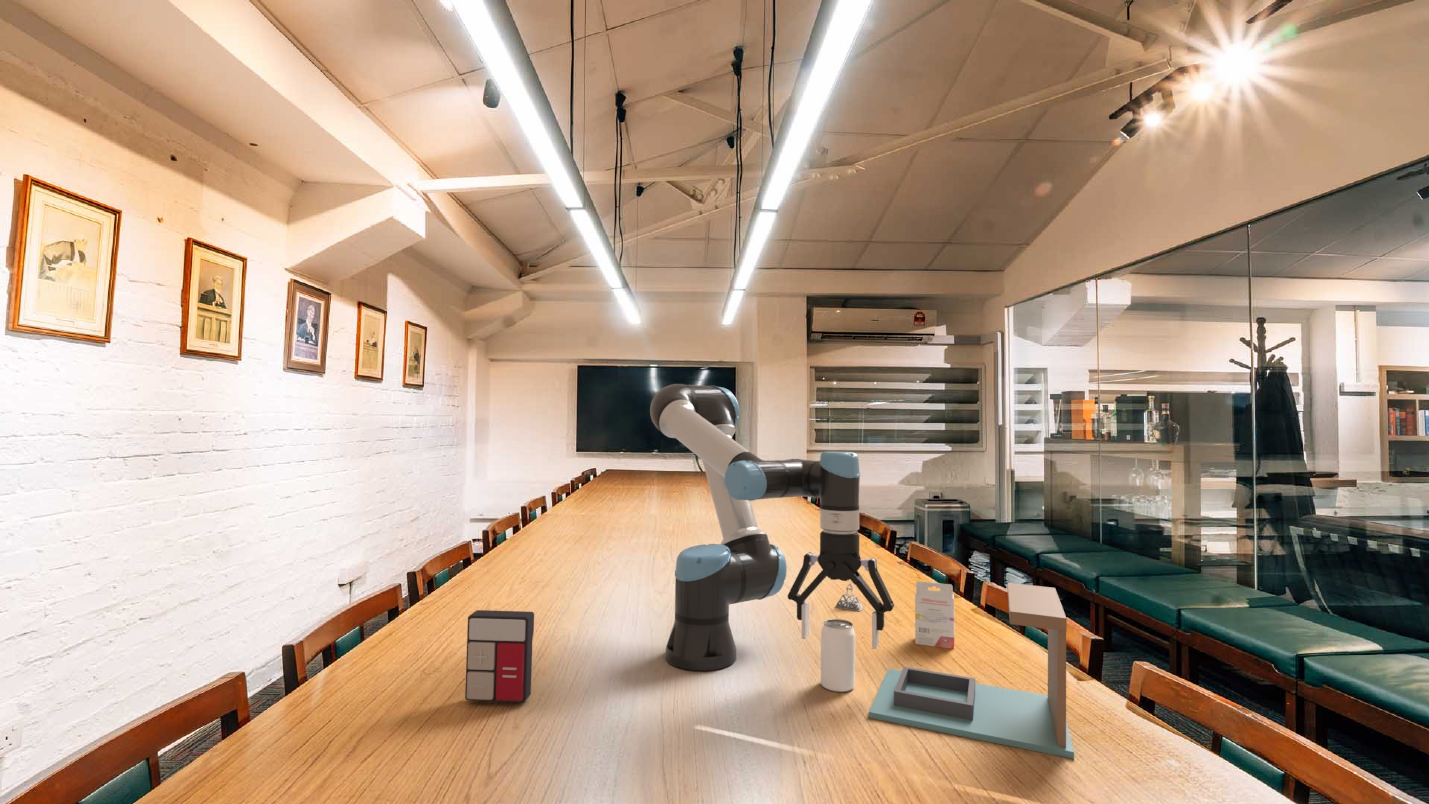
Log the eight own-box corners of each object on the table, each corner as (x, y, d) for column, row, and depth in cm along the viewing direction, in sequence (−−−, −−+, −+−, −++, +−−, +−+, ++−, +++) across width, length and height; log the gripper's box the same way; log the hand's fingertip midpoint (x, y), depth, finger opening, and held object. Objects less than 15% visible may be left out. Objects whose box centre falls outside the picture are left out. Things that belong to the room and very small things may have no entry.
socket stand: (869, 717, 111) (870, 594, 111) (888, 673, 131) (889, 569, 131) (1074, 758, 98) (1074, 620, 99) (1060, 702, 118) (1060, 588, 119)
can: (854, 694, 120) (855, 629, 120) (819, 691, 121) (820, 627, 122) (854, 681, 126) (855, 619, 127) (821, 678, 128) (821, 617, 128)
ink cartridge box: (954, 644, 150) (955, 580, 150) (954, 650, 145) (954, 585, 145) (916, 638, 153) (916, 576, 153) (914, 645, 148) (915, 581, 149)
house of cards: (876, 609, 178) (876, 581, 178) (865, 617, 171) (865, 588, 171) (845, 604, 183) (845, 576, 183) (833, 611, 175) (834, 582, 176)
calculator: (462, 702, 113) (465, 616, 114) (472, 692, 118) (475, 609, 118) (524, 704, 113) (527, 618, 114) (532, 694, 117) (534, 611, 118)
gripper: (772, 529, 126) (771, 638, 125) (903, 538, 116) (903, 657, 115) (784, 524, 133) (783, 628, 132) (908, 532, 123) (909, 645, 122)
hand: (839, 642), depth 124 cm, fingers open, 13 cm apart
